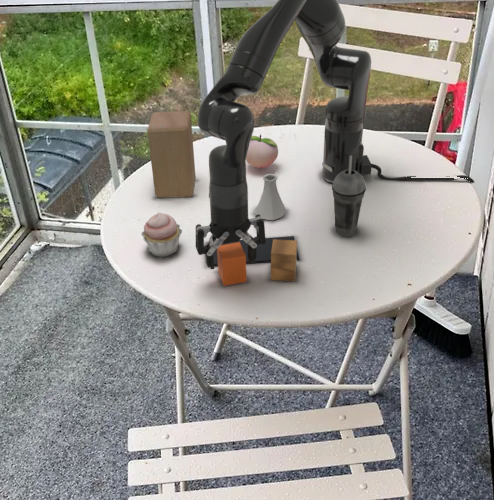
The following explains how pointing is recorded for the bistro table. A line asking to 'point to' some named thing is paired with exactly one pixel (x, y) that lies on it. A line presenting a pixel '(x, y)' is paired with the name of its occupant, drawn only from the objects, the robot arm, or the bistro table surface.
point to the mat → (258, 250)
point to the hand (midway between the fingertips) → (231, 263)
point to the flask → (270, 200)
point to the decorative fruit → (261, 152)
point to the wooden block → (172, 153)
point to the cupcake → (161, 234)
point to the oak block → (283, 260)
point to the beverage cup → (347, 200)
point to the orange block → (231, 263)
